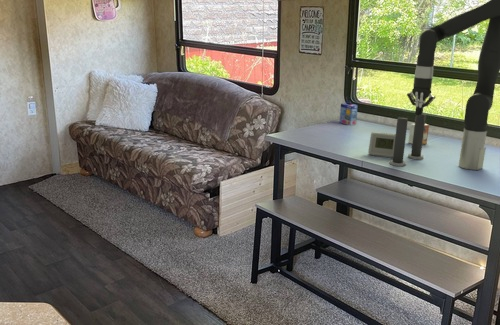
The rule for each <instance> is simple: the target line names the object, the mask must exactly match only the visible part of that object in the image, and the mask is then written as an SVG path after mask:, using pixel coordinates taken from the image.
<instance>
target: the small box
mask: <svg viewBox="0 0 500 325" xmlns="http://www.w3.org/2000/svg"><path fill="white" fill-rule="evenodd" d="M414 126H415V123H410V125H409V135H408V140H407V142H408V144H411V145H412V143H413V135H414ZM429 130H430V124H427V123H425V126H424V134H423V142H422V145H428V137H429V136H428V135H429Z"/></svg>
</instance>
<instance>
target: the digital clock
mask: <svg viewBox="0 0 500 325" xmlns="http://www.w3.org/2000/svg"><path fill="white" fill-rule="evenodd" d="M395 137H396V133H395V134H394V133H387V132H386V133H385V132H375V131H374V132H371V134H370V139H369V143H368V145H369V146H368V151H367V152H368V155H371V156H375V157H382V158H391V159H393V154H394V146H395Z"/></svg>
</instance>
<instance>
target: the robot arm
mask: <svg viewBox="0 0 500 325" xmlns="http://www.w3.org/2000/svg"><path fill="white" fill-rule="evenodd" d="M487 20H488V26H487V28H486V31H485V35H484V38H483V42H482V45H481V48H480V52H479V57H478V63H477V81H476V86H475V89H474V91H473V94H472V95H471V96H469V98H468V99H467V100H466V105H465V109H464V110H465V112H464V119H463V120H464V121H463V122H464V127H463V133H462V141H461V148H460V153H459V160H458V161H459V162H458V167H459V168H461V169H466V170H471V171H472V170H473V171H478V170H480V169H483V167H484V160H485V155H486V149H487V147H485V145H486V139H487V133H488V119H489V112H490V110H491V109H492V106H493V103H494V102H493V101H494V95H495V88H496V83H497V79H498V76H499V75H500V74H499V73H500V0H488V1H487V2H485V3H484V4H481V5H480V6H477V7H475V8H473V9H470V10H467V11H464V12H463V13H459V14H458V15H456V16H453V17H451V18H449V19H447V20H445V21H443V22H442V23H440V24H437V25H434V26H432V27H429V28H427V29H425V30H424V31H422V32H421V33H420V36H419V47H418V54H417V59H416V67H415V71H414V79H413V85H412V86H413V87H412V90H411V91H410V92H408V93H407V94H406V96H407V97H408V99H409V101H410V103H411V105H412V106H415V112H414V113H415V116H416V115H417V116H421V115H422V114H424V108H425V107H426V108H427V107H429V106H430V104H432V102H433V101H434V100H435V99H436V95H433V94H432V86H433V76H434V67H435V66H434V64H435V53H436V49H437V44H438V42H441V41H442V40H444V39H446V38H451V37H453V36H455V35H457V34H460V33H462V32H464V31H466V30H468V29H470V28H472V27H474V26H476V25H478V24H480V23H483V22H485V21H487Z"/></svg>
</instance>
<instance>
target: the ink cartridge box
mask: <svg viewBox="0 0 500 325" xmlns="http://www.w3.org/2000/svg"><path fill="white" fill-rule="evenodd" d="M358 106H359V105H358V104H353V103H352V102H351V101H350V100H345V102H344V103H340V112H339V124H340V123H341V124H344V125H348V126H355V124H356V125H358V124H357V122H358Z"/></svg>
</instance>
